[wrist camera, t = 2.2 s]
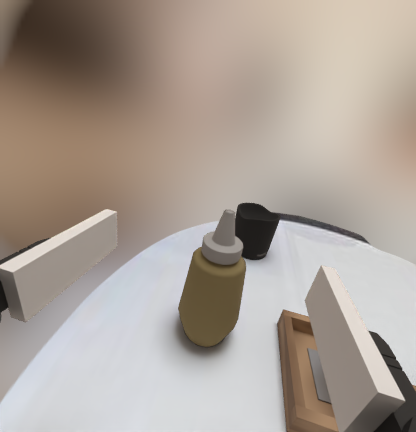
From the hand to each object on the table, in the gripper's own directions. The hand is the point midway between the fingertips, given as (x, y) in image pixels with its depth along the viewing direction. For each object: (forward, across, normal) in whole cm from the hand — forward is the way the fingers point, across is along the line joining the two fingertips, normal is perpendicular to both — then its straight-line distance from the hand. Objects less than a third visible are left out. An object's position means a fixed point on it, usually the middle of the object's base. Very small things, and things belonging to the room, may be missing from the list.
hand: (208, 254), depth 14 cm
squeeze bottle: (+10, 0, -19) cm, 21 cm away
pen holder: (+34, +5, -19) cm, 39 cm away
